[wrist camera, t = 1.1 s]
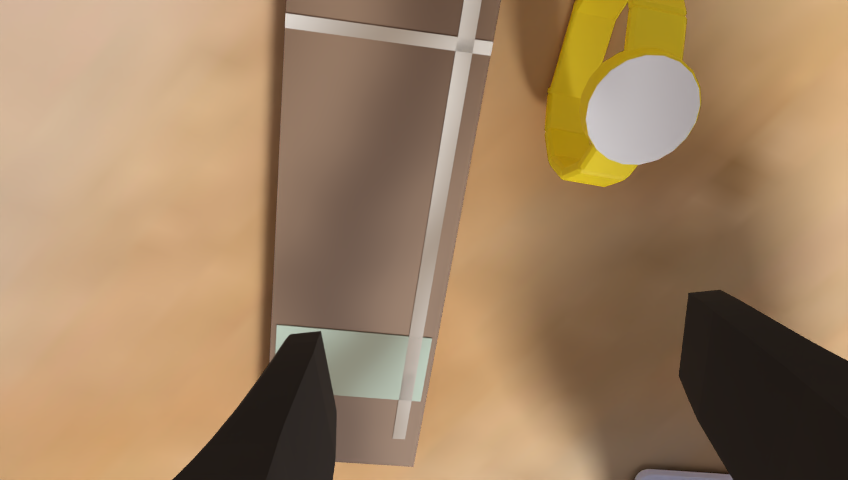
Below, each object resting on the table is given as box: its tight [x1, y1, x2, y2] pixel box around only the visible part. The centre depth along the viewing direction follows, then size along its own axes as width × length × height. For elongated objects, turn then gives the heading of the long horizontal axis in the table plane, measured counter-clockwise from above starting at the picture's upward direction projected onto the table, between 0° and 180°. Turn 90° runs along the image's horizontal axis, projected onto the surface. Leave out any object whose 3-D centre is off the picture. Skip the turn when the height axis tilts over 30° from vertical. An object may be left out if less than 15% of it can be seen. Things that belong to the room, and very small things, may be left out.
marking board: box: [269, 0, 501, 467], centre depth 23 cm, size 6×20×1 cm, turn 172°
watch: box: [545, 0, 701, 187], centre depth 18 cm, size 6×3×6 cm, turn 169°
